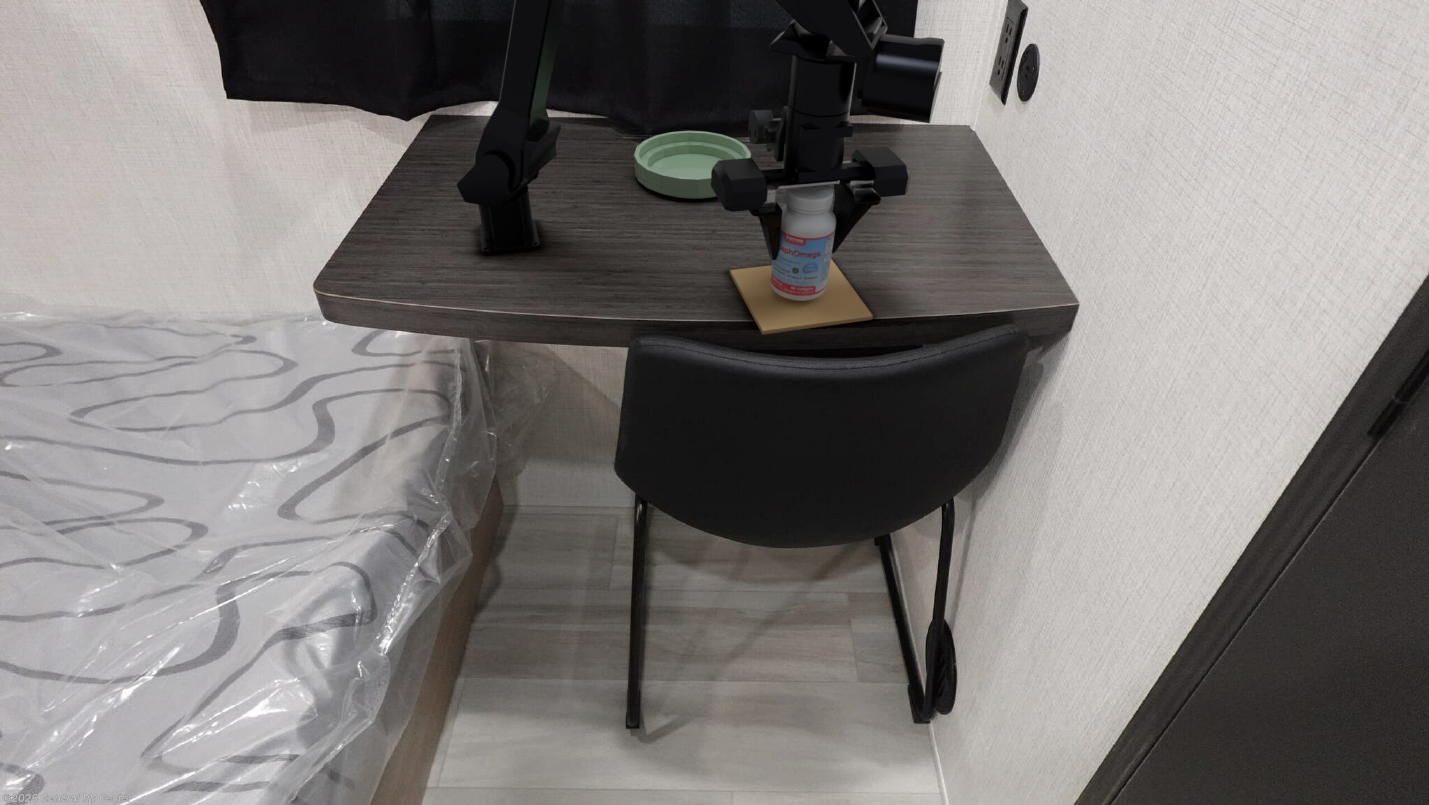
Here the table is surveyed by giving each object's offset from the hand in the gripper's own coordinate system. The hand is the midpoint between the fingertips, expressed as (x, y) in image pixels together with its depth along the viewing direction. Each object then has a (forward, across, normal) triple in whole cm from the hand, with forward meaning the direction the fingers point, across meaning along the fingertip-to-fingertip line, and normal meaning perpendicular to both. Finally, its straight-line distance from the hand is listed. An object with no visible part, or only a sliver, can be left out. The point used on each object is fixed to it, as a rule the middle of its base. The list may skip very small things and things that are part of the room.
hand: (802, 254), depth 87 cm
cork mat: (+5, 0, 0) cm, 5 cm away
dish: (+5, +4, -31) cm, 32 cm away
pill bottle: (+4, 0, 0) cm, 4 cm away
